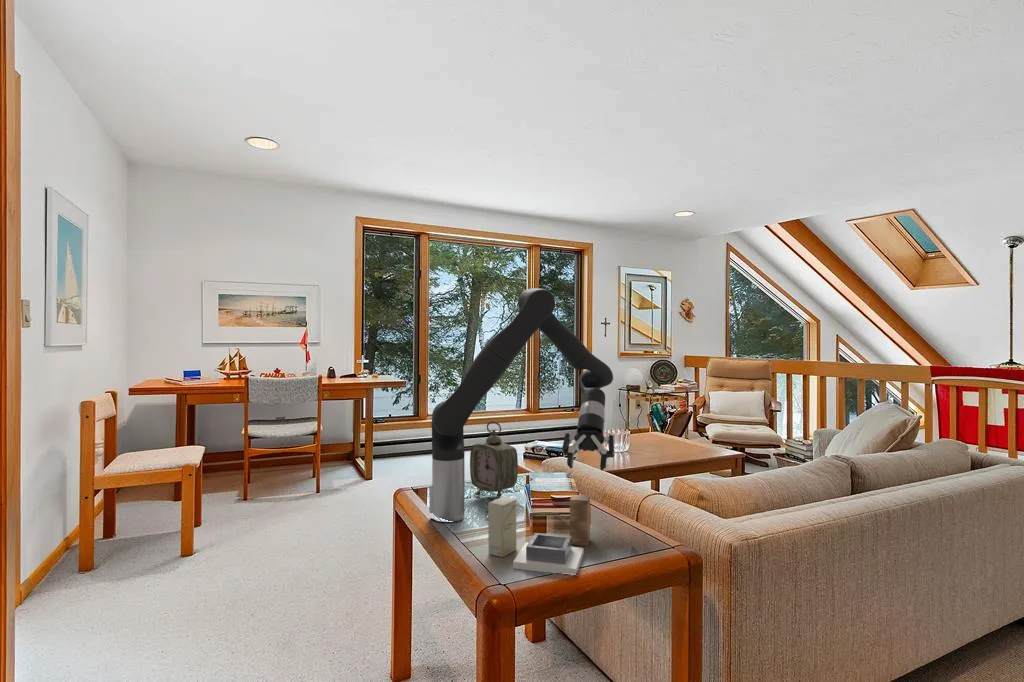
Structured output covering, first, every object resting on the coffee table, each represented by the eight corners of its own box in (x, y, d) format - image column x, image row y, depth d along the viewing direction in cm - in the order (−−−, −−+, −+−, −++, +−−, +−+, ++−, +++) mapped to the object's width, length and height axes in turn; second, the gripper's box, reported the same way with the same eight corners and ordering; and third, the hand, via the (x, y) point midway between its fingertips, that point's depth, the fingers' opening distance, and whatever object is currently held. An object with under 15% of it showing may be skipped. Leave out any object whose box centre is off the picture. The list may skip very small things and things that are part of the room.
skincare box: (503, 558, 121) (503, 505, 121) (487, 554, 123) (487, 502, 123) (517, 549, 126) (517, 498, 126) (501, 545, 128) (501, 496, 128)
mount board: (512, 568, 115) (512, 548, 115) (526, 548, 126) (526, 529, 126) (576, 575, 111) (576, 554, 111) (583, 554, 123) (583, 535, 123)
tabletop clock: (469, 496, 171) (469, 420, 171) (490, 491, 177) (490, 417, 177) (498, 506, 160) (498, 425, 160) (520, 500, 166) (520, 422, 166)
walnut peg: (570, 543, 129) (569, 499, 130) (572, 537, 134) (572, 494, 134) (587, 545, 128) (587, 500, 128) (589, 539, 132) (589, 495, 133)
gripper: (565, 411, 152) (558, 459, 141) (614, 412, 148) (611, 461, 137) (569, 426, 158) (562, 473, 146) (616, 428, 153) (613, 476, 142)
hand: (586, 467), depth 142 cm, fingers open, 8 cm apart
